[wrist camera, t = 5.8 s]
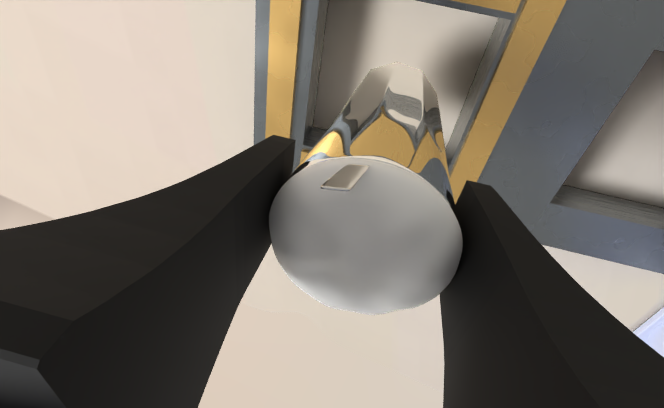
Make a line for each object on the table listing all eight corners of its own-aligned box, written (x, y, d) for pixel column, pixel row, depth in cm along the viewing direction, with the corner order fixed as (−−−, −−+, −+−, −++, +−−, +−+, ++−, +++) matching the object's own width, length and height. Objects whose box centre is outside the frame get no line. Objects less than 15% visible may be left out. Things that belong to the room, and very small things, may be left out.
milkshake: (468, 18, 12) (505, 205, 5) (445, 155, 16) (445, 390, 8) (336, 18, 13) (194, 174, 6) (341, 147, 17) (256, 351, 9)
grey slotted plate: (970, 15, 12) (1059, 31, 10) (692, 257, 20) (717, 289, 18) (276, -117, 14) (255, -123, 12) (265, 155, 21) (252, 176, 19)
